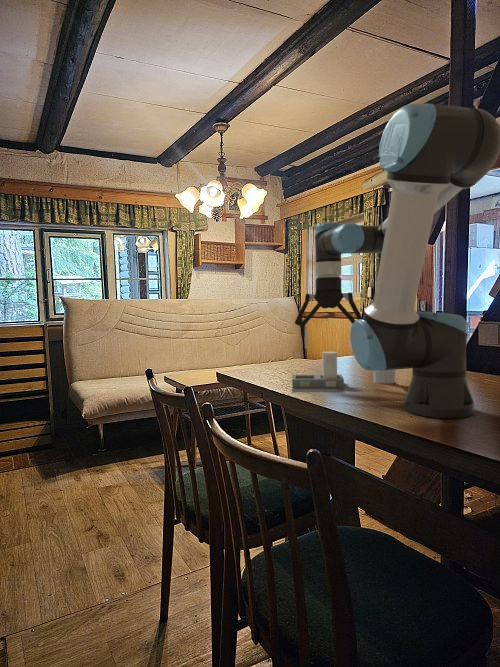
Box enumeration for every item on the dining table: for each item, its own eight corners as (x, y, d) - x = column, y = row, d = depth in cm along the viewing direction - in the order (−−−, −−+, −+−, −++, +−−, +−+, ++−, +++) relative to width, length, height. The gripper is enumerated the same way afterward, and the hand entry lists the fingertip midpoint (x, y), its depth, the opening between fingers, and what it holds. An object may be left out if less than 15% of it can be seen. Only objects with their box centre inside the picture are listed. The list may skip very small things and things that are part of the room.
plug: (337, 386, 129) (336, 353, 128) (323, 386, 129) (323, 353, 128) (336, 383, 133) (335, 351, 133) (323, 383, 134) (322, 351, 133)
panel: (345, 395, 121) (345, 383, 121) (291, 395, 123) (291, 383, 123) (339, 382, 141) (339, 371, 141) (293, 382, 143) (293, 371, 143)
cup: (394, 382, 138) (394, 344, 137) (400, 387, 130) (400, 347, 129) (368, 382, 139) (368, 345, 138) (373, 387, 131) (372, 348, 130)
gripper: (369, 276, 131) (369, 345, 133) (286, 278, 134) (287, 346, 136) (373, 275, 124) (373, 349, 126) (285, 277, 127) (287, 349, 129)
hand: (328, 347), depth 131 cm, fingers open, 13 cm apart
